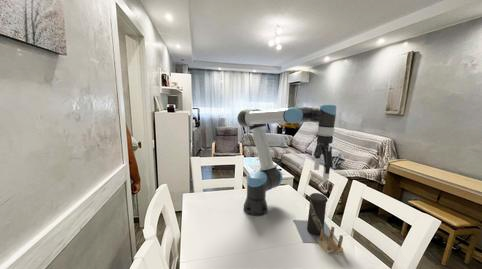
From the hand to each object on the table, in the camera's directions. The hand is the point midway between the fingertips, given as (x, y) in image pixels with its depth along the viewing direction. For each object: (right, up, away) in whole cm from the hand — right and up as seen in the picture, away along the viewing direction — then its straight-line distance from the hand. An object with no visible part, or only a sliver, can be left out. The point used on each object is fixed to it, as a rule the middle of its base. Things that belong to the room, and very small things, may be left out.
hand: (320, 174), depth 104 cm
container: (-3, -30, 0) cm, 30 cm away
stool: (0, -32, -11) cm, 34 cm away
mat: (-3, -31, 0) cm, 31 cm away
